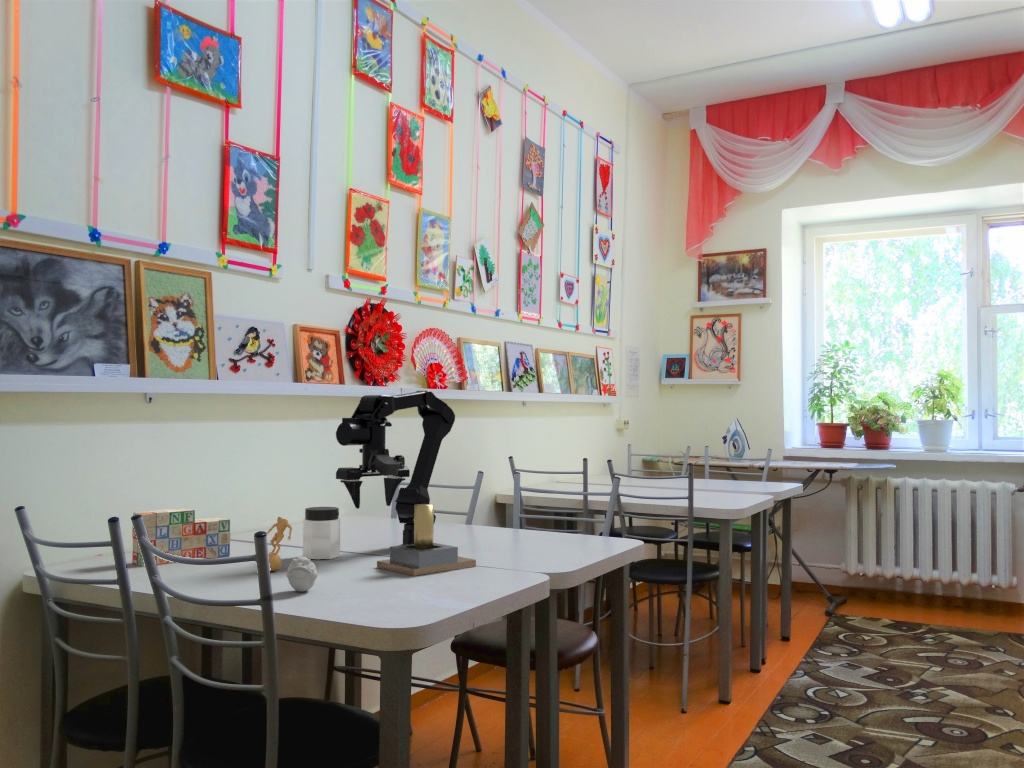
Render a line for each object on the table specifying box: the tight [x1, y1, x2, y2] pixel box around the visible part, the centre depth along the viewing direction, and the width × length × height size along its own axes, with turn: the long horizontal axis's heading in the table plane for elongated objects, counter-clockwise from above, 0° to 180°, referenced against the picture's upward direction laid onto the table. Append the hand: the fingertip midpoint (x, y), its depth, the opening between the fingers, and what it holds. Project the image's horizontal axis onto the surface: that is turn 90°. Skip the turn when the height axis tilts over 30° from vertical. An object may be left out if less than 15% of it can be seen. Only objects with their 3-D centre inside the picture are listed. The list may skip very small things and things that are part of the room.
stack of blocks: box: [131, 507, 231, 567], centre depth 202 cm, size 21×6×12 cm, turn 134°
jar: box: [302, 506, 341, 560], centre depth 207 cm, size 9×8×12 cm
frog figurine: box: [285, 556, 319, 593], centre depth 166 cm, size 6×7×7 cm
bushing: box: [414, 503, 435, 550], centre depth 192 cm, size 4×4×13 cm
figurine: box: [265, 516, 293, 572], centre depth 189 cm, size 8×6×12 cm
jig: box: [376, 542, 477, 577], centre depth 194 cm, size 18×14×5 cm
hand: (373, 507), depth 210 cm, fingers open, 9 cm apart
